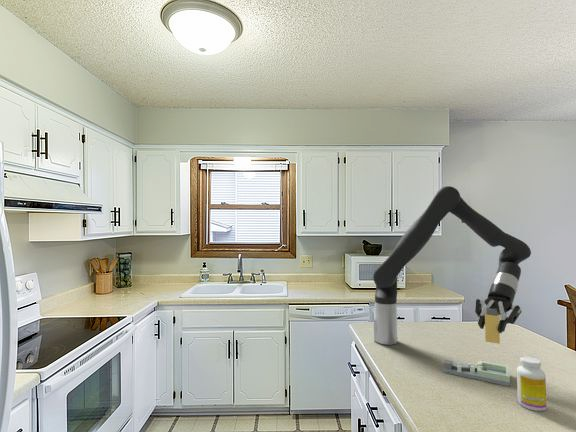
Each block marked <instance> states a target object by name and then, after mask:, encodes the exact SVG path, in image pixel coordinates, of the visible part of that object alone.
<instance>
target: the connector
mask: <svg viewBox="0 0 576 432" xmlns="http://www.w3.org/2000/svg"><path fill="white" fill-rule="evenodd" d="M499 322H500V315H499V313H497V309H493V308H487V309H486V312H485V325H484V335H485V342H486V343H492V344H499V345H500V344H501V337H500V334H501V333H499V332H498V330H497V328H498V325H499Z"/></svg>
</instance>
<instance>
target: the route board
mask: <svg viewBox="0 0 576 432" xmlns="http://www.w3.org/2000/svg"><path fill="white" fill-rule="evenodd" d="M510 370H511V369H510V366H509V365H504V364H498V363H494V362H493V363H492V362H488V361H484V360H482V361H481V360H478V362H477V363H476V364H472V363H470V362H467V363H466V362H461V361H457V360H450V359H444V360H443V371H444V373H445V374H450V375H454V376H455V375H456V376H460V377H464V378H469V379H473V380H479V381H484V382H488V383H493V384H498V385H502V386H506V387H511V375H510V373H511V372H510Z"/></svg>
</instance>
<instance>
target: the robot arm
mask: <svg viewBox="0 0 576 432" xmlns="http://www.w3.org/2000/svg"><path fill="white" fill-rule="evenodd" d="M448 213H450V214H452V215H454V216H455V217H456V218H458V219H459V220H460V221H462V222H463V223H464V224H465V225H466V226H467V227H469V229H471V230H472V231H473V233H475V234H476V235H477V236H478V237H479V238H481V239H482V240H483V241H484V242H485V243H487V244H488V245H489V246H491V247H492V248H494V247H495V248H496V247H501V248H502V247H503V249H502V251H500V253H499V257H498V268H497V271H496V274H495V276H494V277H493V279H492V283H491V285H490V288H489V291H488V294H487V298H485V300H480V298H476V300H475V309H474V310H475V311H474V313H475V315H476V316H477V317H478V322H477V325H478V326H479V328H480V330H484V329H485V312H486V309H487V308H493V309H497V313H499V316H500V319H499V325H498V328H497V330H498V332H499V333H500V334H503V333H504V332H505V330H506V328H507V325H508V324H512V325H514V324H515V323H516V321H517V319H519V316H520V314H521V313H523V312H522V309H521V307H520V305H517V304H516V305H513V303H514V301H515V296H516V294H517V292H518V286H519V281H520V278H521V274H522V273H521V272H522V269H521V267H520V265H519V264H520V263H521V262H524V261H525V260H527V259H529V258H530V257H531V254H532V250H531V248H530V247H529V245H528V244H527V243H526V242H524V241H523V240H521V239H519V238H516V237H515V236H513V235H511V234H509V233H506V232H505V231H503V230H502V229H501V228H500V227H498V226H497V225H496V224H494V222H492V221H491V220H490V219H488V218H486V217H485V215H484V216H483V215H482V214H481V213H479V212H478V211H476V210H475V209H474V208H472V207H471V206H470V205H469V204H468V203H467V202H466V201H465V200H464V198H462V197H461V194H460V192H459V189H457V188H455V187H453V186H451V185H450V186H443V187H441V188H440V189H438V190H437V191H436V193H435V195H434V197H433V198H432V199H431V201H430V203H429V204H428V206H427V207H426V209H425V210H424V212H422V213H421V214H420V216H418V218H417V219H416V220H415V221H414V222H413V223H412V224H411V225H410V226H409V228H408V229H407V230H406V232H405V233H404V234H403V235H402V236H401V238H400V239H399V241H398V242H397V244H396V245H395V246H394V249H393V250H392V251H391V253H390V255H389V256H388V257H387V258H386V259H385V260H384V261H383V263H382V264H381V265H380V266H378V267H377V268H376V269H375V270H374V271H373V274H372V275H373V277H372V278H373V281H374V284H375V294H374V315H375V316H374V319H373V341H374V342H376V343H378V344H381V345H385V346H386V345H387V346H389V345H390V346H393V345H396V344H398V338H399V337H398V309H397V308H398V307H397V304H398V303H397V299H398V276H399V274H400V273H401V271H402V270H403V269H404V268H405V266H406V265H407V264H408V263H410V262H411V260H412V259H414V258H415V256H417V255H418V254H419V253H420V251H421V250H422V249H423V248H424V247H425V245H427V243H428V242H429V241H430V240H431V237H432V236H433V235H434V234H435V233H434V232H436V229H437V228H438V226H439V224H440V223H441V222H442V220H443V219H444V218H445V217H446V215H448ZM485 305H486V306H485ZM484 306H485V307H484ZM482 309H483V310H482ZM510 311H511V312H510ZM508 312H510V314H509V315H507V313H508Z"/></svg>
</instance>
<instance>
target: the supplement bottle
mask: <svg viewBox="0 0 576 432" xmlns="http://www.w3.org/2000/svg"><path fill="white" fill-rule="evenodd" d="M520 364H521V365H519V366H517V368H516V388H517V390H516V391H517V392H516V394H517V402H518V403H519V405H520V406H521V407H523V408H525V409H527V410H531V411H536V412H543V411H545V410H547V407H548V406H547V404H548V403H547V386H546V385H547V384H546V383H547V381H546V380H547V378H546V374H545V372H544V371H543V370H542V369H541V367H542V365H541V364H542V362H541V360H540V359H538V358H535V357H531V356H521V357H520Z"/></svg>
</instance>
